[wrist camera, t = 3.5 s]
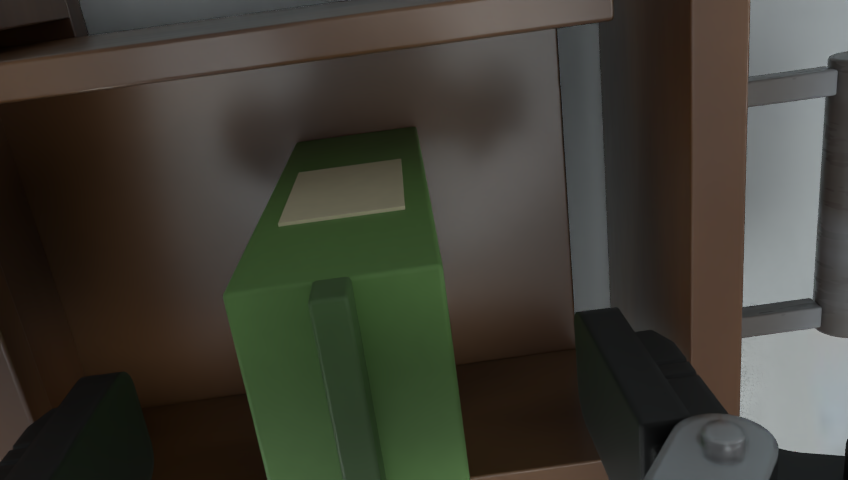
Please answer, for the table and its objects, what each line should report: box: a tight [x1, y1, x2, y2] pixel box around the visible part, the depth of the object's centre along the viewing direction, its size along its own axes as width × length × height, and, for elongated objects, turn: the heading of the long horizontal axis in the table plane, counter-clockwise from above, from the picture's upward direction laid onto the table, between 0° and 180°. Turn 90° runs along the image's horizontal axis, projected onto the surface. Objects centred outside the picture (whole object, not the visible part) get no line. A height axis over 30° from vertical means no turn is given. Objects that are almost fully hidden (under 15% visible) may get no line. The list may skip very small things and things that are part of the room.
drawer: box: [0, 0, 848, 480], centre depth 20 cm, size 23×14×7 cm, turn 97°
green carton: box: [223, 127, 470, 480], centre depth 17 cm, size 5×3×11 cm, turn 7°
